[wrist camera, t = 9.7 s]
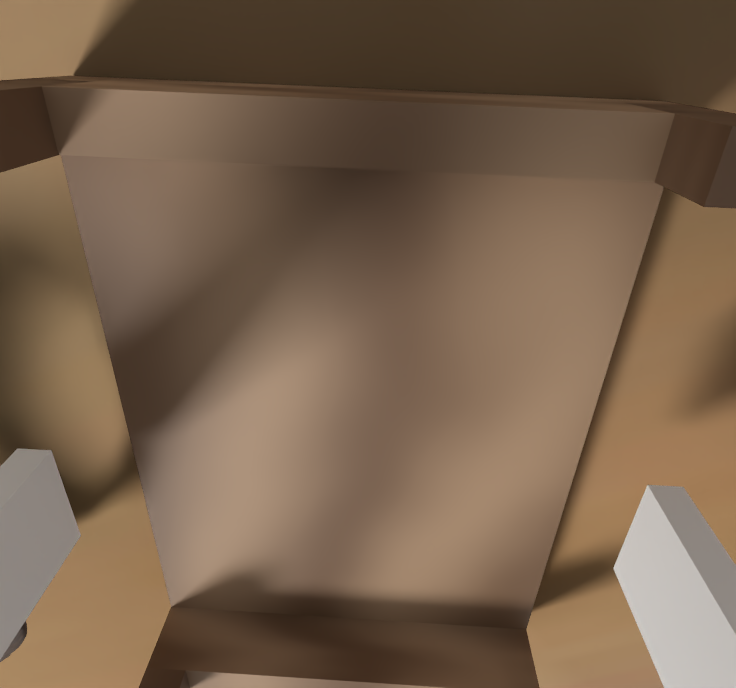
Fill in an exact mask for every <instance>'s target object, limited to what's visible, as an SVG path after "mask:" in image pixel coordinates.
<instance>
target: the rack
mask: <svg viewBox="0 0 736 688" xmlns="http://www.w3.org/2000/svg"><path fill="white" fill-rule="evenodd" d="M57 155H61V157H62V162H63V166H64V170H65V174H66V178H67V182H68V186H69V190H70V194H71V198H72V202H73V207H74V211H75V215H76V219H77V223H78V227H79V231H80V235H81V239H82V243H83V247H84V252H85V256H86V260H87V264H88V268H89V272H90V276H91V280H92V284H93V288H94V292H95V297H96V301H97V305H98V309H99V313H100V317H101V321H102V325H103V329H104V333H105V337H106V342H107V346H108V350H109V354H110V358H111V362H112V366H113V370H114V374H115V378H116V383H117V387H118V391H119V395H120V399H121V403H122V407H123V411H124V415H125V419H126V423H127V428H128V432H129V436H130V440H131V444H132V448H133V452H134V456H135V460H136V464H137V468H138V473H139V477H140V481H141V485H142V489H143V493H144V497H145V501H146V505H147V509H148V513H149V518H150V522H151V526H152V530H153V534H154V538H155V542H156V546H157V550H158V554H159V558H160V563H161V567H162V571H163V575H164V579H165V583H166V587H167V591H168V595H169V599H170V603H171V609H170V611H169V614H168V616H167V619H166V621H165V624H164V626H163V629H162V631H161V634H160V636H159V639H158V641H157V644H156V646H155V649H154V651H153V654H152V656H151V659H150V661H149V664H148V666H147V668H146V671H145V673H144V676H143V678H142V681H141V683H140V686H139V688H539V684H538V679H537V675H536V671H535V666H534V662H533V658H532V653H531V649H530V645H529V640H528V636H527V631H526V628H527V625H528V622H529V618H530V615H531V612H532V609H533V606H534V602H535V599H536V596H537V593H538V590H539V586H540V583H541V580H542V577H543V574H544V570H545V567H546V564H547V561H548V558H549V554H550V551H551V548H552V545H553V542H554V538H555V535H556V532H557V529H558V526H559V522H560V519H561V516H562V513H563V509H564V506H565V503H566V500H567V497H568V493H569V490H570V487H571V484H572V481H573V477H574V474H575V471H576V468H577V465H578V461H579V458H580V455H581V452H582V449H583V445H584V442H585V439H586V436H587V433H588V429H589V426H590V423H591V420H592V417H593V413H594V410H595V407H596V404H597V401H598V397H599V394H600V391H601V388H602V385H603V381H604V378H605V375H606V372H607V368H608V365H609V362H610V359H611V356H612V352H613V349H614V346H615V343H616V340H617V336H618V333H619V330H620V327H621V324H622V320H623V317H624V314H625V311H626V308H627V304H628V301H629V298H630V295H631V292H632V288H633V285H634V282H635V279H636V276H637V272H638V269H639V266H640V263H641V260H642V256H643V253H644V250H645V247H646V244H647V240H648V237H649V234H650V231H651V227H652V224H653V221H654V218H655V215H656V211H657V208H658V205H659V202H660V199H661V195H662V192H663V189H664V187H665V188H667V189H669V190H671V191H673V192H675V193H677V194H679V195H681V196H683V197H685V198H687V199H689V200H691V201H693V202H695V203H697V204H699V205H701V206H703V207H720V208H736V114H735V113H729V112H724V111H718V110H712V109H706V108H701V107H695V106H689V105H684V104H678V103H672V102H667V101H649V100H626V99H603V98H579V97H556V96H533V95H509V94H486V93H462V92H439V91H416V90H392V89H369V88H346V87H322V86H299V85H276V84H252V83H229V82H206V81H182V80H159V79H135V78H112V77H89V76H60V77H45V78H31V79H16V80H2V81H0V172H4V171H7V170H10V169H14V168H17V167H20V166H24V165H27V164H30V163H34V162H37V161H40V160H43V159H47V158H50V157H53V156H57Z"/></svg>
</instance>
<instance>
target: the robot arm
mask: <svg viewBox="0 0 736 688" xmlns="http://www.w3.org/2000/svg"><path fill="white" fill-rule="evenodd" d="M80 536H81V535H80V532H79V529H78V526H77V523H76V520H75V517H74V514H73V512H72V509H71V506H70V503H69V500H68V497H67V494H66V491H65V488H64V485H63V483H62V480H61V477H60V474H59V471H58V468H57V465H56V462H55V459H54V457H53V454H52V451H51V450H36V449H19V448H17V449H16V450H15V451H14V453H13V454H12V455H11V456H10V457H9V458H8V459H7V460H6V461H5V462H4V463H3V464H2V465H1V466H0V659H1V658H2V656H3V655H4V653H5V652H6V650H7V649H8V647H9V645H10V644H11V642H12V641H13V639H14V638H15V636H16V635H17V633H18V632H19V630H20V629H21V627H22V625H23V624H24V622H25V621H26V619H27V618H28V616H29V615H30V613H31V612H32V610H33V609H34V607H35V605H36V604H37V602H38V601H39V599H40V598H41V596H42V595H43V593H44V592H45V590H46V589H47V587H48V585H49V584H50V582H51V581H52V579H53V578H54V576H55V575H56V573H57V572H58V570H59V569H60V567H61V565H62V564H63V562H64V561H65V559H66V558H67V556H68V555H69V553H70V552H71V550H72V549H73V547H74V545H75V544H76V542H77V541H78V539H79V538H80ZM613 569H614V571H615V573H616V576H617V578H618V580H619V583H620V585H621V587H622V590H623V592H624V594H625V597H626V599H627V602H628V604H629V606H630V609H631V611H632V613H633V616H634V618H635V620H636V623H637V625H638V627H639V630H640V632H641V634H642V637H643V639H644V641H645V644H646V646H647V648H648V651H649V653H650V655H651V658H652V660H653V663H654V665H655V667H656V670H657V672H658V674H659V677H660V679H661V681H662V684H663V686H664V688H736V565H735V564H734V562H733V561H732V559H731V558H730V556H729V555H728V553H727V552H726V550H725V549H724V547H723V546H722V544H721V543H720V541H719V540H718V538H717V537H716V535H715V534H714V532H713V531H712V529H711V528H710V526H709V525H708V523H707V522H706V520H705V519H704V517H703V516H702V514H701V513H700V511H699V510H698V508H697V507H696V505H695V504H694V502H693V501H692V499H691V498H690V496H689V495H688V493H687V492H686V490H685V489H684V487H675V486H658V485H647V488H646V490H645V492H644V495H643V497H642V500H641V502H640V505H639V507H638V510H637V512H636V514H635V517H634V519H633V522H632V524H631V527H630V529H629V531H628V534H627V536H626V539H625V541H624V544H623V546H622V548H621V551H620V553H619V556H618V558H617V561H616V563H615V565H614V568H613Z"/></svg>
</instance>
